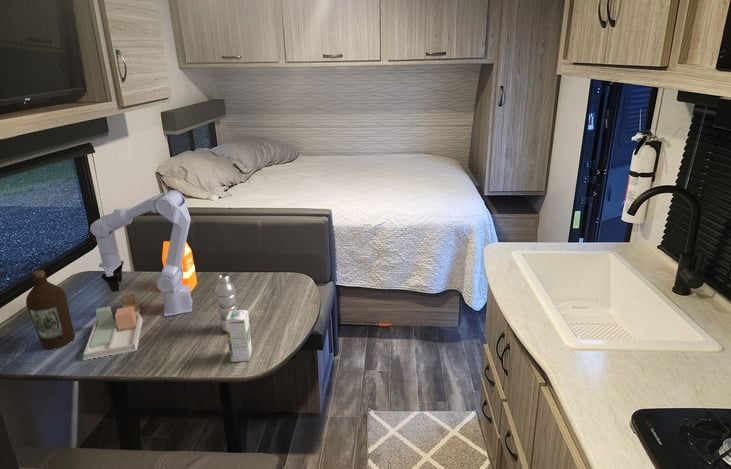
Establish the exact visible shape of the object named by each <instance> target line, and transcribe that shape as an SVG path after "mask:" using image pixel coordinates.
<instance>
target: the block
mask: <svg viewBox="0 0 731 469" xmlns="http://www.w3.org/2000/svg"><path fill="white" fill-rule="evenodd" d="M114 318H115V320H116V322H117V326H118V329H122V328H127V327H133V326H135V322H136V316H135V311H134V307H133V306H131V307H125V308H123V307H120V308H117V309H116V311H115V315H114Z"/></svg>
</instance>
